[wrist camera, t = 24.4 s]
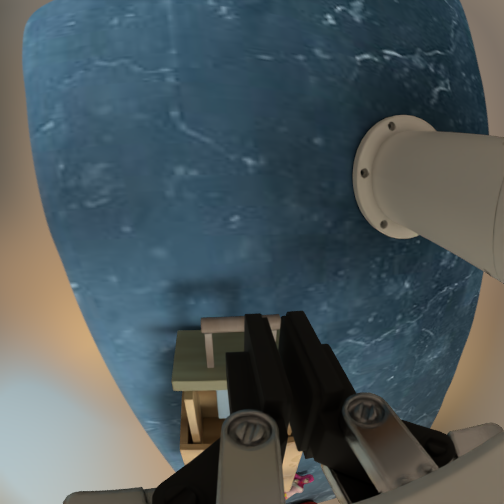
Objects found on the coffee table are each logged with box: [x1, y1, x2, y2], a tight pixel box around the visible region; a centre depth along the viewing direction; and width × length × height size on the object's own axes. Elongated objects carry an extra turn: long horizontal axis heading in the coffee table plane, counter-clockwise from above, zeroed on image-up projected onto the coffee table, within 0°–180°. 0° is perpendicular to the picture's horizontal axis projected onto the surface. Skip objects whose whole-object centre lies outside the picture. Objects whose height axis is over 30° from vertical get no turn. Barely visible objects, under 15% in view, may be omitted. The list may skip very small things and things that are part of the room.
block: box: [216, 390, 230, 419], centre depth 28 cm, size 4×4×4 cm
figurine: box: [285, 474, 314, 500], centre depth 41 cm, size 10×10×15 cm
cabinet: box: [180, 391, 302, 492], centre depth 31 cm, size 15×13×9 cm
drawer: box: [171, 314, 292, 444], centre depth 27 cm, size 18×11×7 cm, turn 179°
